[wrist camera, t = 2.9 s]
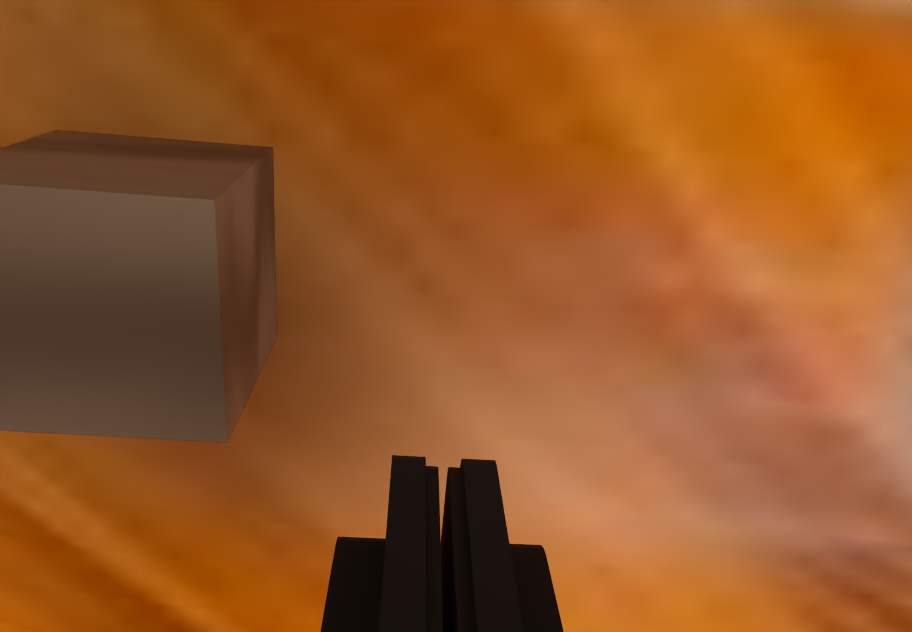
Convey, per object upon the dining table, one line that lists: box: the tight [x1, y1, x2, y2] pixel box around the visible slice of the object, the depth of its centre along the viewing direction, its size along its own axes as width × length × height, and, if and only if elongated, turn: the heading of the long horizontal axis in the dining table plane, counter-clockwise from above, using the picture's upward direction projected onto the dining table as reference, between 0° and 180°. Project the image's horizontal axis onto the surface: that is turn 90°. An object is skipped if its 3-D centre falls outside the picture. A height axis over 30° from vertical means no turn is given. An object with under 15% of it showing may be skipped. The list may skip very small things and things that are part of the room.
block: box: [0, 130, 277, 443], centre depth 18 cm, size 6×6×6 cm
